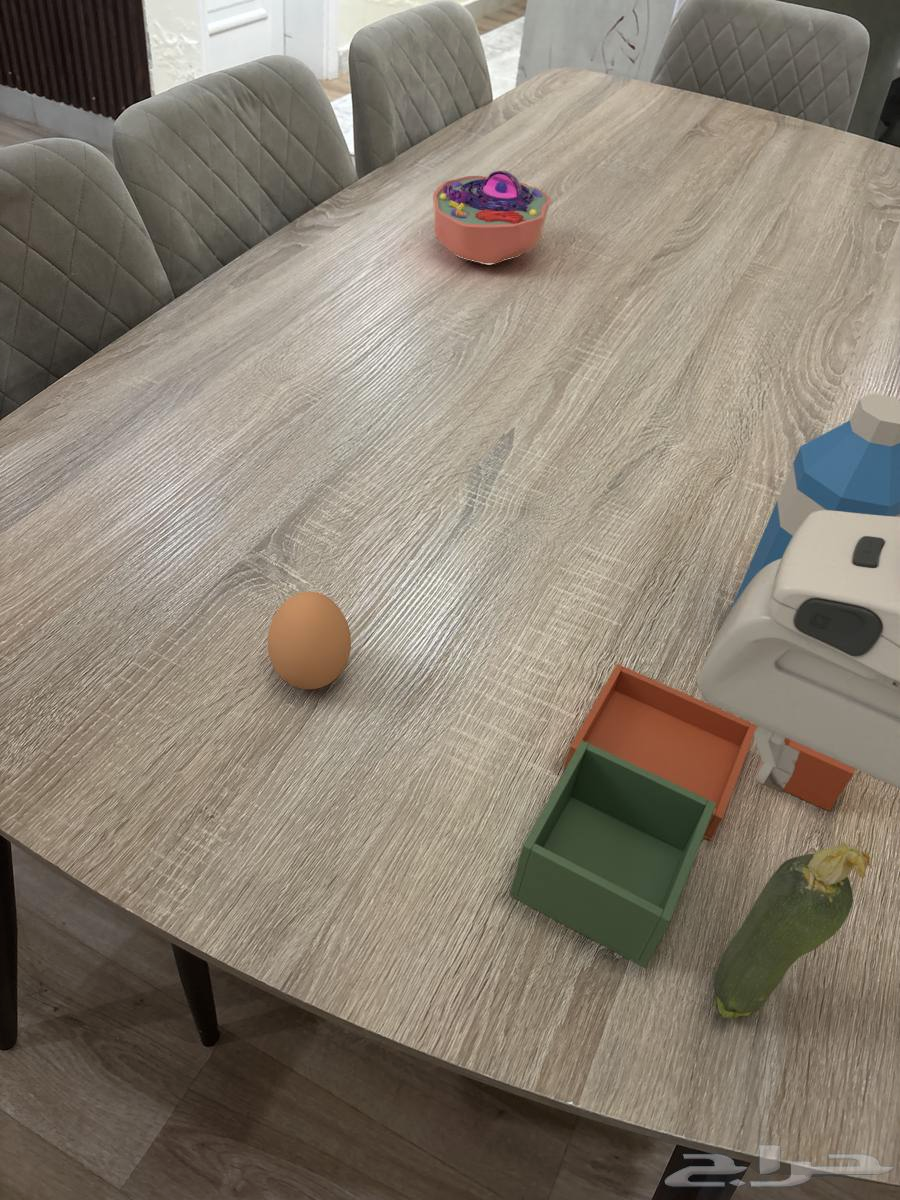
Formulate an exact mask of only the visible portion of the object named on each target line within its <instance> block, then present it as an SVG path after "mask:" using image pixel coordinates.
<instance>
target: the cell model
mask: <svg viewBox="0 0 900 1200" xmlns="http://www.w3.org/2000/svg"><path fill="white" fill-rule="evenodd" d="M432 201H433V202H432V209H433V218H434V223H433V224H434V226H433V227H434V234H435V236H436V238H437V240H438V241H439V242H440V243H441V244H442V245H443V246H444V247H445V248H446V249H447V250H448V251H449V252H451V253H452V254H453V253H454V254H456V255H458V256H460V257H463V258H466V259H470V260H474V261H479V262H483V263H497V262H500V261H502V260H504V259H508V258H512V257H516V256H519V255H522V254H524V253H526V254H527V253H529V252H530V251H531V250H532V249H533V248H535V247H536V246H537V245H538V244H539V243H540V240H541V238H542V233H543V230H544V227H545V222H546V218H547V215H548V211H549V209H550V208H549V207H550V205H551V203H552V202H551V197H550V196H549V195H548V194H547V193H546V192H545V191H543V190H542V189H541V188H538V187H536V186H534V185H531V184H527V183H523V182H520V181H519V179H518V178H517V177H516V176H515V175H513V174H512V173H511V172H509V171H507V170H495V171H493V172H491V173H490V174H489V175H488V176H483V175H466V176H464V177H458V178H456V179H455V178H454V179H451V180H445V181H444V182H442V183H441V184H440V185H439V186H438V187H437V188H436V189H435V191H434V192H433V195H432ZM454 254H453V255H454ZM456 255H455V256H456ZM524 255H525V254H524ZM522 256H523V255H522ZM466 261H468V260H466ZM468 262H469V261H468ZM470 262H472V261H470ZM472 263H473V262H472ZM474 263H476V262H474ZM500 263H501V262H500ZM476 264H477V263H476Z"/></svg>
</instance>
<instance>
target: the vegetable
mask: <svg viewBox="0 0 900 1200" xmlns="http://www.w3.org/2000/svg"><path fill="white" fill-rule="evenodd" d="M870 857H871V856H870V853H869V852H866V851H861V850H859V849H858V848H857V846H856V845H854V846H852V845H849V844H848V843H845V842H840V843H839V845H836V846H835V845H834V846H831V848H822V849H818V850H817V851H815V852H814V853H808V854H803V855H798V856H793V857H791V858H788V859H786V860H785V861H784V862H782V863H781V864H780V865H779V867H778V868H777V869H776V870H775V871H774V873H773V874H772V875H771V876H770V877H769V879H768V881H767V883H766V884H765V885H764V887H763V889H762V890H761V892H760V894H759V895H758V896H757V898H756V899H755V901H754V903H753V905H752V907H751V909H750V911H749V912H748V913H747V915H746V917H745V919H744V920H743V922H742V924H741V925H740V927H739V929H737V931H736V933H735V934H734V936H733V937H732V938H731V940H730V942H729V943H728V945H727V946H726V948H725V949H724V951H723V953H722V955H721V957H720V959H719V962H718V966H717V968H716V970H715V973H714V977H713V990H714V993H715V995H716V1004H717V1008H718V1012H719V1014H720V1015H721V1018H722V1019H732V1018H735V1019H737V1018H738V1017H741V1016H743V1017H748V1016H750V1015H752V1013H754V1012H758V1011H760V1010H761V1009H762V1008H763V1007H764V1006H765V1004H766V1003H767V1001H768V1000H769V997H771V996H772V994H773V992H774V991H775V990H776V989H777V987H778V986H779V984H780V983H781V982H782V980H784V979H783V978H784V977H785V975H786V973H787V971H789V969H790V967H791V966H793V964H794V963H795V962H796V961H797V960H798V959H799V958H801V957H802V956H804V955H806V954H809V953H811V952H813V951H814V950H816V949H818V948H819V947H820V946H822V945H823V944H824V943H826V942H827V941H828V940H830V939H831V938H832V937H833V936H834V935H836V934H837V932H839V930H840V929H841V928H842V927H843V926H844V924H845V922H846V920H847V918H848V916H849V914H850V912H851V910H852V908H853V903H854V893H853V889H852V885H851V881H850V879H849V875H850V874H851V872H853V870H854V869H855V867H856V872H857V873H858V876H859V878H862V879H865V878H866V875H867V874H865V873H866V869H867V867H869V868H871V869H873V866H872V865H871V864H870V861H871V858H870Z"/></svg>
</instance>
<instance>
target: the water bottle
mask: <svg viewBox="0 0 900 1200" xmlns="http://www.w3.org/2000/svg"><path fill="white" fill-rule="evenodd" d="M796 453H797V454H796V456H795V458H794V461H793V463H792V465H791V467H790V469H789V472H788V474H787V477H786V478H785V482H784V483H783V486H782V489H781V491H780V493H779V496H778V498H777V500H776V503H775V505H774V507H773V510H772V512H771V514H770V516H769V519H768V522H767V523H766V527H765V528H764V530H763V532H762V536H761V537H760V540H759V542H758V544H757V547H756V549H755V551H754V554H753V556H752V559H751V561H750V563H749V566H748V568H747V570H746V573H745V575H744V577H743V579H742V582H741V584H740V587H739V589H738V591H737V593H736V596H735V598H734V600H733V602H732V605H731V608H730V610H729V612H730V611H731V609H732V607H733V606H734V604H735V603H736V601H737V600H738V598H739V597H740V595H741V594H742V593H743V591H744V590H745V588H746V587H747V586H748V584H749V583H750V582H751V580H752V579H753V578H754V577H755V576H756V575H757V573H758V572H759V571H761V570H762V569H763V568H764V567H765V566H767V565H768V564H770V563H772V562H774V561H776V560H778V559H781V558H782V557H783V554H784V552H785V550H786V548H787V546H788V544H789V542H790V541H791V539H792V537H793V535H794V534H795V532H796V531H797V529H798V528H799V526H800V525H801V524H802V522H803V521H804V520H805V519H806V517H807V516H808V515H809V514H810V513H812V512H815V511H820V510H832V511H842V512H851V513H860V514H870V515H881V516H894V517H900V399H898V398H896V397H894V396H891V395H885V394H879V393H870V394H867V395H865V396H862V397H860V398H859V399H858V401H857V403H856V406H855V408H854V410H853V412H852V414H851V416H850V419H849V420H847V421H845V422H844V423H842V424H840V425H838V426H836V427H834V428H832V429H831V430H828V431H826V432H825V433H823V434H821V435H819V436H817V437H815V438H814V439H812V440H810V441H807V442H806V443H804V444H802V445H800V446H799V449H798V451H797V452H796Z"/></svg>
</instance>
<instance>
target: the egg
mask: <svg viewBox="0 0 900 1200" xmlns="http://www.w3.org/2000/svg"><path fill="white" fill-rule="evenodd" d="M351 649H352V635H351V630H350V626H349V623H348V620H347V619H346V617H345V614H344V613H343V612H342V610H341V608H340V607H339V606H338V605H337V603H335V602H334V601H333V599H331V598H330V597H329V596H327V595H326V594H323V593H320V592H317V591H301V592H299V593H296V594H293V595H292V596H290V597H288V598H287V599H285V601H284V602H283V603H282V604H281V605H280V606H279V607H278V609H277V610H276V612H275V614H274V616H273V617H272V619H271V621H270V624H269V627H268V634H267V653H268V657H269V660H270V663H271V665H272V668H273V669H274V671H275V672H276V674H277V675H278V676H279V677H280V678H281V679H282V680H283V681H285V682H286V683H288V684H289V685H290V686H292V687H295V688H297V689H302V690H317V689H320V688H323V687H325V686H328V685H329V684H331V683H332V682H334V681H335V680H336V679H337V678H338V677H339V676H340V675H341V674H342V673H343V671H344V670H345V668H346V666H347V664H348V662H349V658H350V655H351Z"/></svg>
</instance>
